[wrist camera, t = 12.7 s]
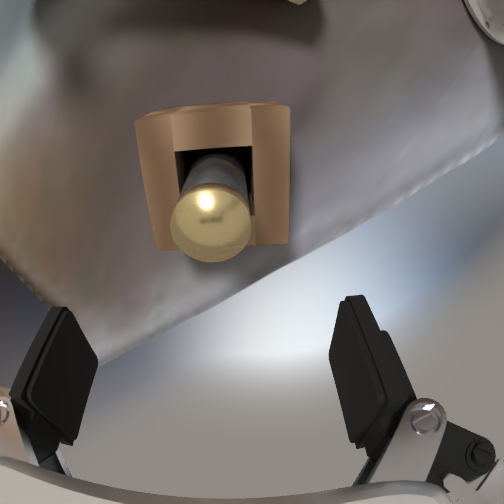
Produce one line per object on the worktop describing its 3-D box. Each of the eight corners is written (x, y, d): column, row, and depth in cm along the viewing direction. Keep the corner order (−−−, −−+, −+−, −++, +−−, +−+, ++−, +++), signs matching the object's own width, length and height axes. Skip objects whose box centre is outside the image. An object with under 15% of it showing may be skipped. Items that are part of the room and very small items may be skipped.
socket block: (276, 100, 25) (289, 108, 19) (277, 208, 31) (288, 243, 25) (156, 109, 25) (134, 120, 19) (171, 215, 31) (157, 251, 25)
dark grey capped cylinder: (242, 135, 27) (249, 187, 15) (244, 179, 29) (252, 260, 18) (195, 139, 27) (164, 193, 15) (199, 182, 29) (176, 264, 17)
